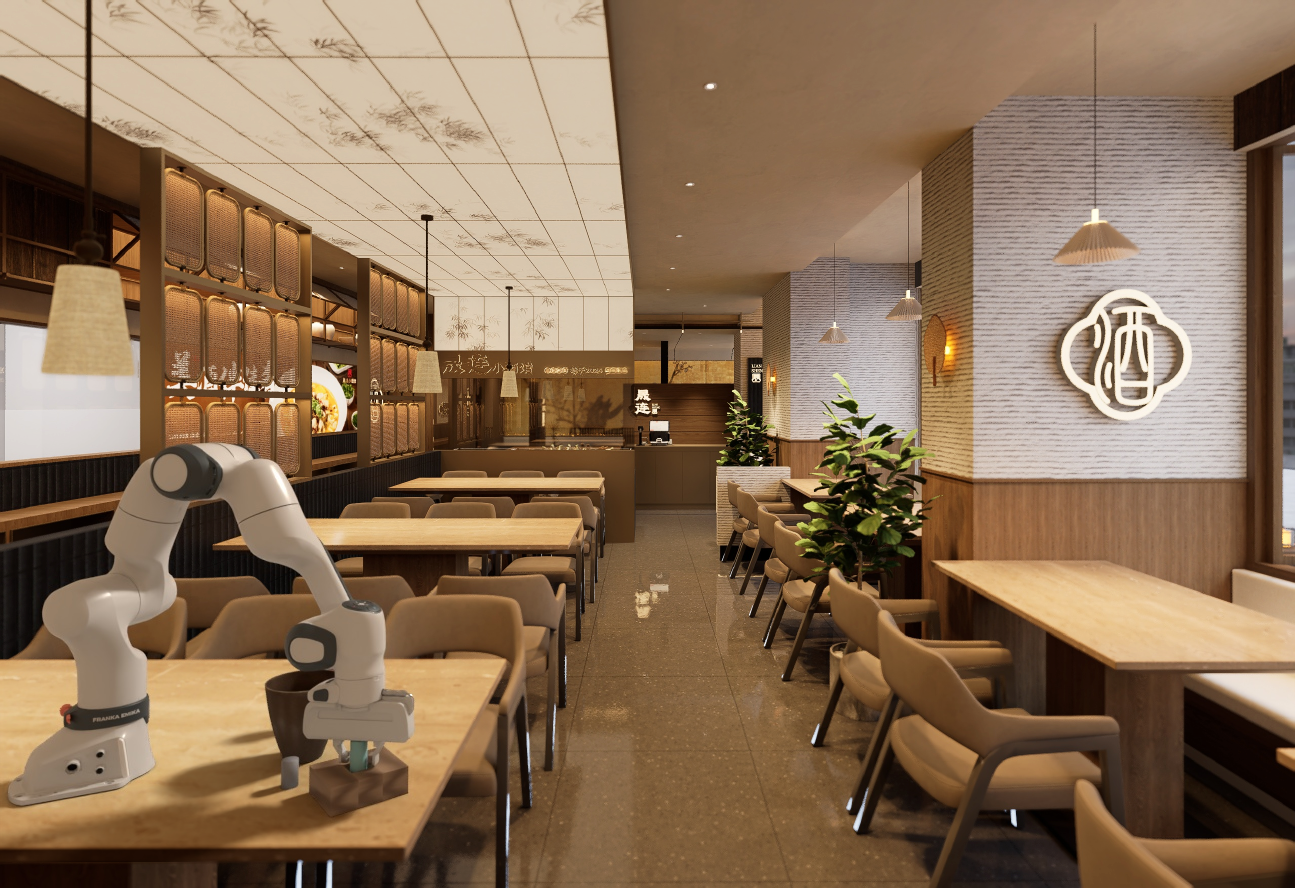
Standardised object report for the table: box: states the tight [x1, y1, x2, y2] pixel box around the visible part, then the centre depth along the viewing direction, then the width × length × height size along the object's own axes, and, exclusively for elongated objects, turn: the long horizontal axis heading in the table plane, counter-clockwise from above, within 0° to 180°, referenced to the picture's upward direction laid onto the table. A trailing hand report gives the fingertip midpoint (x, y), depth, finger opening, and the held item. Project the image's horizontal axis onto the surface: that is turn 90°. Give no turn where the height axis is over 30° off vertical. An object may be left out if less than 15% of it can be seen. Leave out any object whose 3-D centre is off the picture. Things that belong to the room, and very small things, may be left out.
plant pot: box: [264, 669, 335, 765], centre depth 152 cm, size 15×15×16 cm
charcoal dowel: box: [280, 756, 300, 791], centre depth 139 cm, size 3×3×5 cm
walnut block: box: [308, 745, 409, 818], centre depth 137 cm, size 14×12×5 cm
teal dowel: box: [349, 740, 369, 773], centre depth 137 cm, size 3×3×10 cm
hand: (358, 762), depth 137 cm, fingers open, 4 cm apart
